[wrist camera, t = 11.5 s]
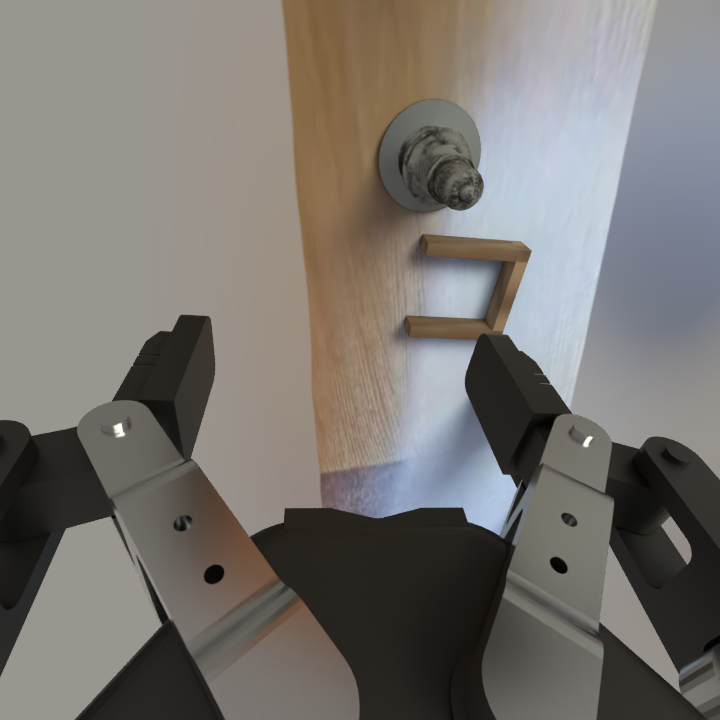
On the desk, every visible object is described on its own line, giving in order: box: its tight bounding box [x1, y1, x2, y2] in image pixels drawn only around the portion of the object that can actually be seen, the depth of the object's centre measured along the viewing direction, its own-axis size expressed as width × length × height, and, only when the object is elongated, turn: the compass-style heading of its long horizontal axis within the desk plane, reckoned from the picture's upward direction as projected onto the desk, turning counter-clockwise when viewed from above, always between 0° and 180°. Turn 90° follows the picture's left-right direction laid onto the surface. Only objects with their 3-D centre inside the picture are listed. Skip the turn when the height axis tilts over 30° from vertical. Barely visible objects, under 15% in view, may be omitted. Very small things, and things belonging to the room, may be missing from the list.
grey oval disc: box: [379, 99, 481, 212], centre depth 37 cm, size 9×9×1 cm
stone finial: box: [398, 126, 484, 210], centre depth 32 cm, size 6×6×12 cm
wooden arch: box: [405, 234, 531, 340], centre depth 44 cm, size 10×10×2 cm
